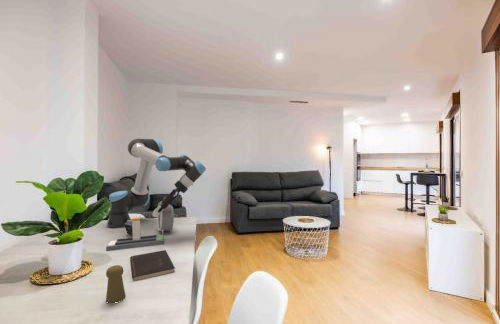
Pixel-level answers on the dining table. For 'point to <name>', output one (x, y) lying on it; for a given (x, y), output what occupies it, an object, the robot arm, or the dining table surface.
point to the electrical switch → (129, 227)
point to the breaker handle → (136, 228)
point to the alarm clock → (166, 218)
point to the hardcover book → (151, 265)
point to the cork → (115, 284)
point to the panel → (135, 242)
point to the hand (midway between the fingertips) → (154, 214)
